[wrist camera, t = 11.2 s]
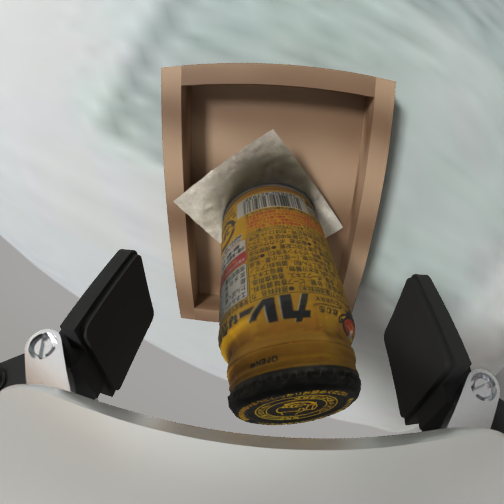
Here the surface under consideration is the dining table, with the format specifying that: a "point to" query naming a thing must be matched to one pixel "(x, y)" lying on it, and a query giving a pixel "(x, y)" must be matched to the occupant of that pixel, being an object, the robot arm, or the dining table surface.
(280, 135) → the serving tray
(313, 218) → the condiment
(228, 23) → the dining table surface
